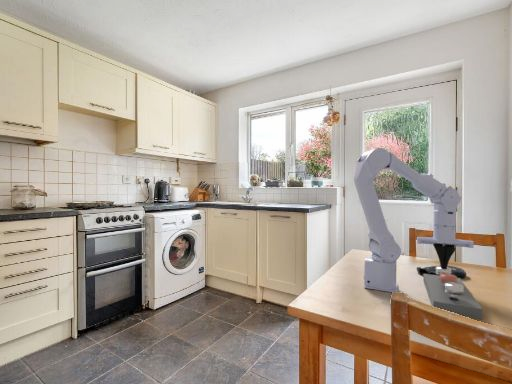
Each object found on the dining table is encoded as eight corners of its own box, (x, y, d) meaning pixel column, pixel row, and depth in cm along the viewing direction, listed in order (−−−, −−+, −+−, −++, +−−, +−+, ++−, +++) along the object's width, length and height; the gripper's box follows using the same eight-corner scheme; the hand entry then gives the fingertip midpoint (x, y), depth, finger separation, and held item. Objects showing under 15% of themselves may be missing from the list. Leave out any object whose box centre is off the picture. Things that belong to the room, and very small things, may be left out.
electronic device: (441, 287, 90) (473, 276, 94) (438, 271, 90) (469, 261, 95) (418, 281, 99) (448, 271, 103) (414, 266, 99) (444, 257, 103)
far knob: (436, 281, 84) (436, 268, 84) (434, 277, 88) (435, 265, 88) (452, 283, 83) (452, 270, 82) (449, 279, 86) (449, 267, 86)
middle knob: (440, 290, 77) (441, 276, 77) (438, 285, 81) (438, 272, 81) (458, 292, 75) (458, 278, 75) (454, 287, 79) (455, 274, 79)
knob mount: (433, 310, 70) (433, 301, 70) (423, 280, 91) (423, 273, 91) (482, 319, 65) (482, 309, 65) (459, 285, 87) (459, 278, 87)
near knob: (446, 301, 70) (446, 286, 70) (443, 295, 74) (443, 281, 74) (465, 304, 68) (465, 288, 68) (461, 298, 72) (461, 283, 72)
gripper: (469, 225, 85) (468, 267, 85) (416, 222, 92) (416, 261, 92) (475, 228, 79) (474, 274, 79) (418, 225, 85) (417, 267, 86)
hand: (443, 267), depth 85 cm, fingers closed
